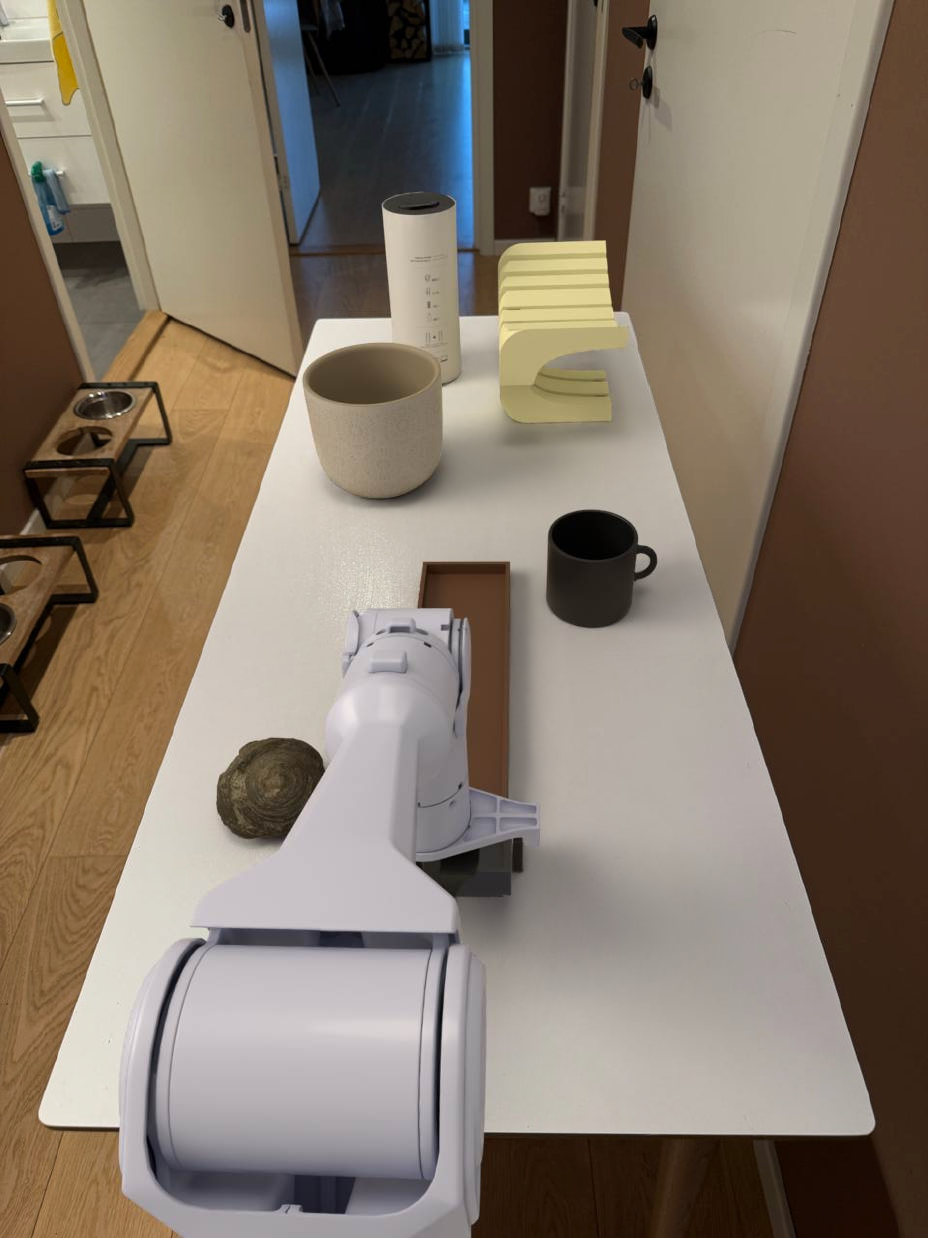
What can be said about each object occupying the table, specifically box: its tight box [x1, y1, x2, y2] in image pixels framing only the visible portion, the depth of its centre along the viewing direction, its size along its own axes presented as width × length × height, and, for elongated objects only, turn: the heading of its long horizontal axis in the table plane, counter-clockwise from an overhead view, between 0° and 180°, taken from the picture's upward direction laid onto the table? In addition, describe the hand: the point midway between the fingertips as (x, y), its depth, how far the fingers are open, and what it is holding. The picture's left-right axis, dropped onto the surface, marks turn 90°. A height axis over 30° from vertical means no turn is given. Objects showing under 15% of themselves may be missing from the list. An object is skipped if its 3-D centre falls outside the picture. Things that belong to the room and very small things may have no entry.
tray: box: [416, 560, 511, 799], centre depth 92 cm, size 39×10×2 cm, turn 177°
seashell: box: [215, 715, 326, 840], centre depth 80 cm, size 11×12×10 cm
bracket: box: [512, 838, 524, 873], centre depth 77 cm, size 2×13×4 cm, turn 88°
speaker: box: [381, 191, 463, 386], centre depth 137 cm, size 11×10×26 cm
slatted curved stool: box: [497, 240, 629, 424], centre depth 131 cm, size 30×16×18 cm, turn 179°
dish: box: [421, 838, 513, 899], centre depth 70 cm, size 15×11×4 cm
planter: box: [301, 342, 444, 499], centre depth 118 cm, size 17×17×15 cm
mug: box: [545, 508, 658, 628], centre depth 100 cm, size 9×12×9 cm
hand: (434, 894), depth 65 cm, fingers closed on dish, 2 cm apart
